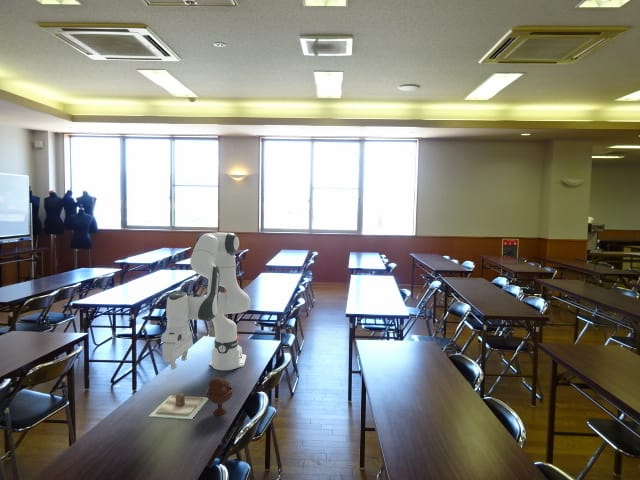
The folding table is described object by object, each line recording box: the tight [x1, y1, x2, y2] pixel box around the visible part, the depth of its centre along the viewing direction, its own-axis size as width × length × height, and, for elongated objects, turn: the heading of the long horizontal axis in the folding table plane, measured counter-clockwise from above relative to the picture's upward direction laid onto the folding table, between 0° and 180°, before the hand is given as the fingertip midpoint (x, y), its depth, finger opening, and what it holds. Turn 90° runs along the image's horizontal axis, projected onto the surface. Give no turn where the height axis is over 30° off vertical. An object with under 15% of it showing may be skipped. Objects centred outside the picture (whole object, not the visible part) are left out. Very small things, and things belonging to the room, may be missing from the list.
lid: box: [156, 392, 203, 416], centre depth 175 cm, size 14×14×5 cm
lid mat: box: [148, 394, 209, 420], centre depth 175 cm, size 18×18×1 cm
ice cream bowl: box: [205, 376, 234, 416], centre depth 171 cm, size 11×11×15 cm
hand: (179, 364), depth 174 cm, fingers open, 8 cm apart
